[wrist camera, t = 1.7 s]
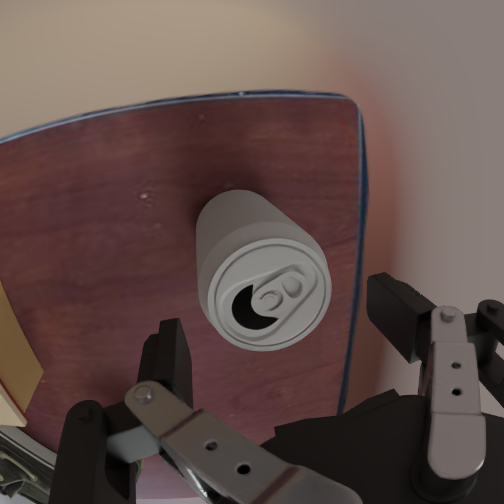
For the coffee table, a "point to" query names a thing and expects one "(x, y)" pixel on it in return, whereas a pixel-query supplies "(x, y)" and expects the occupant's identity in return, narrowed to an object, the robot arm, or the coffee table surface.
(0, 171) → the coffee table surface
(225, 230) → the beverage can
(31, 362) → the lidded cardboard box
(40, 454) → the boat shoe
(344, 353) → the coffee table surface
